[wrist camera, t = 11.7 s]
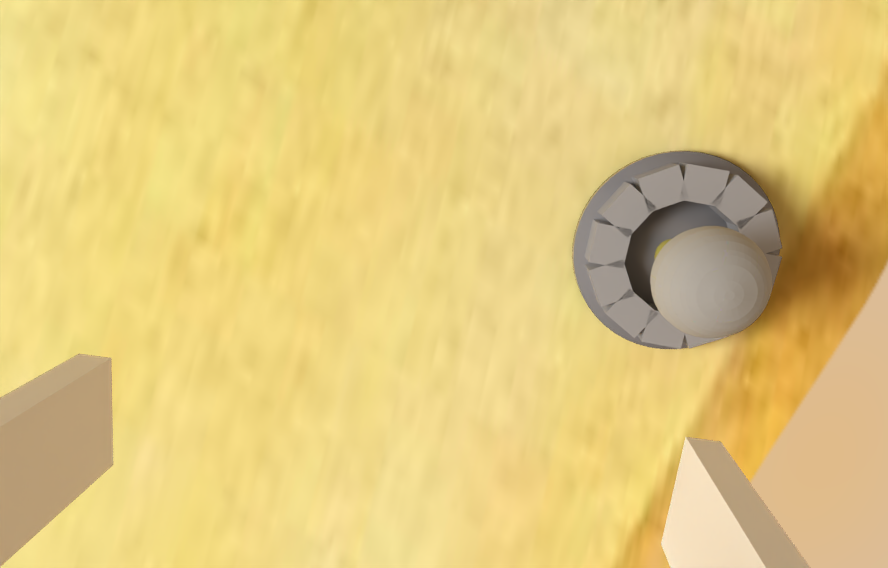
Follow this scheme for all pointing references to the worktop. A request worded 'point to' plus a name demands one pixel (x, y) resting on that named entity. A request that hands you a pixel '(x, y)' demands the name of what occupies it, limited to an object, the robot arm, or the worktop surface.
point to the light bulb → (710, 281)
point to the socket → (661, 235)
